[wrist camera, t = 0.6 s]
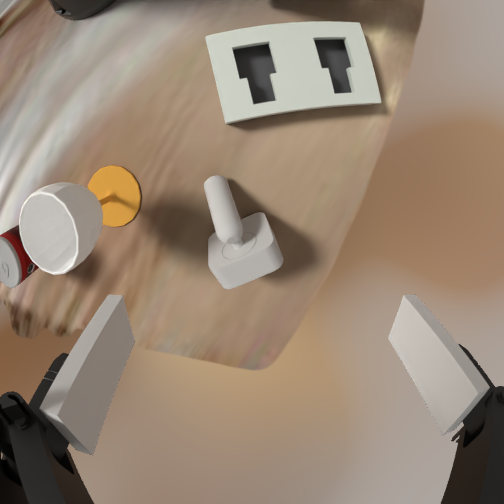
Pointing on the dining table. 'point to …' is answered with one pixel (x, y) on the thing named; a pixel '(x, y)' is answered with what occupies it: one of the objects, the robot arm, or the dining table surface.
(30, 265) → the canned food
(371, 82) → the keyhole board
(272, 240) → the wall hook
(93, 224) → the cup
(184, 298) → the dining table surface
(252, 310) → the dining table surface
